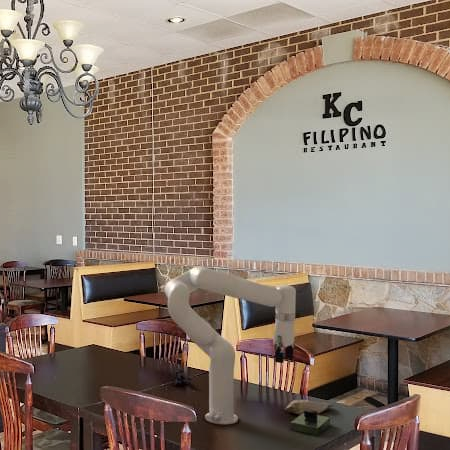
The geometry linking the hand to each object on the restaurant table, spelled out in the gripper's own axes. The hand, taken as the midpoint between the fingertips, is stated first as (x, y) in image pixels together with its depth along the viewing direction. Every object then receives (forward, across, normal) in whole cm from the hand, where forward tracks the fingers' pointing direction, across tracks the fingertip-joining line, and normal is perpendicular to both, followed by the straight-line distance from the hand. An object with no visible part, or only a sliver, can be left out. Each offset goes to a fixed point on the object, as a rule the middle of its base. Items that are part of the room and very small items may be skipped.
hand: (284, 360), depth 243 cm
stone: (+23, -15, +5) cm, 28 cm away
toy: (+24, -16, -57) cm, 64 cm away
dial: (+20, +4, +13) cm, 24 cm away
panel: (+23, +4, +13) cm, 26 cm away
